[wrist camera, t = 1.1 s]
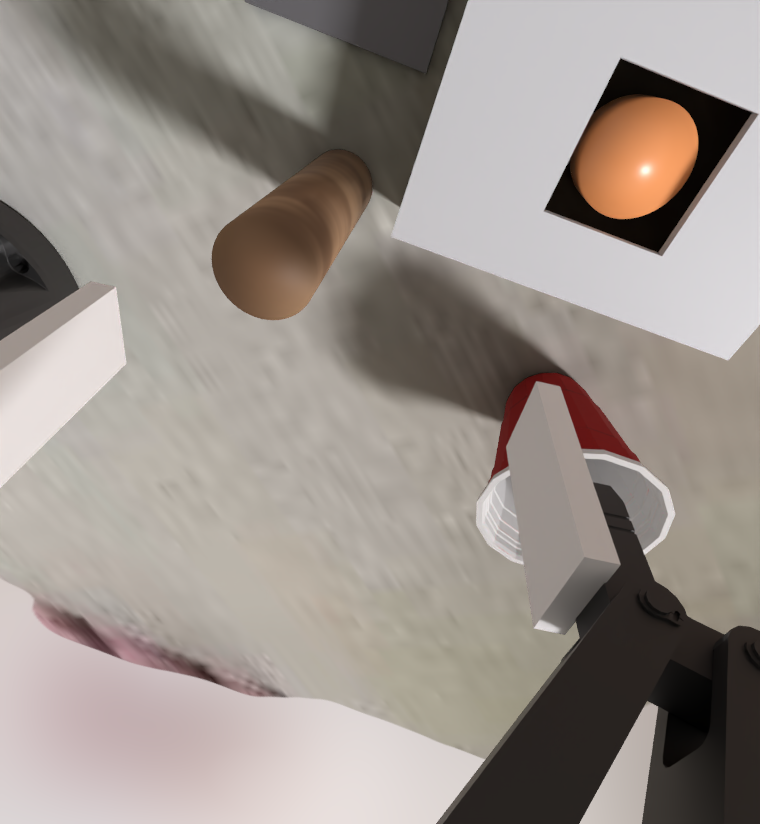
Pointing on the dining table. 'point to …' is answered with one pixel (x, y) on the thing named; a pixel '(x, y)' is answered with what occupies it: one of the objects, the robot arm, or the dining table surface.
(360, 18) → the pad
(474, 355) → the dining table surface
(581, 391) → the plastic cup
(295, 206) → the wooden rod
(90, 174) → the dining table surface
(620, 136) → the orange dome button
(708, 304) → the box
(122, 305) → the dining table surface
